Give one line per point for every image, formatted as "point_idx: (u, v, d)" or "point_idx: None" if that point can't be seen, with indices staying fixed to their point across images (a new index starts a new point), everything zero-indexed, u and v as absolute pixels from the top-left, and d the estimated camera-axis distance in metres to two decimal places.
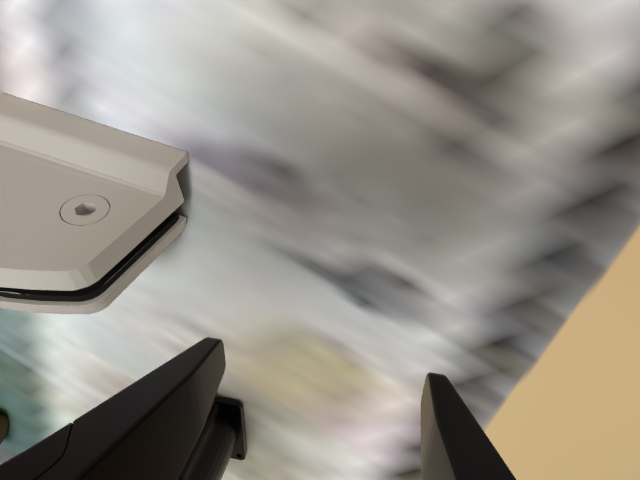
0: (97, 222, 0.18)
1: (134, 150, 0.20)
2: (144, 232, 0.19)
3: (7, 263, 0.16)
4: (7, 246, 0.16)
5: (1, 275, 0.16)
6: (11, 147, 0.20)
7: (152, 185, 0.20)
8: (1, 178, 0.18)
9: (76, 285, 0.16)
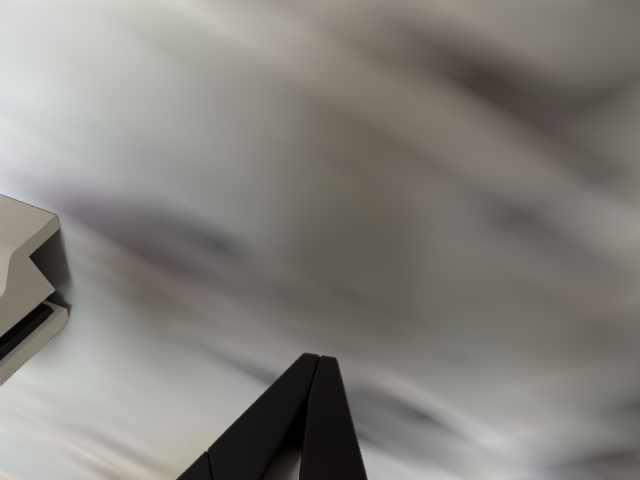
0: None
1: None
2: None
3: None
4: None
5: None
6: None
7: None
8: None
9: None
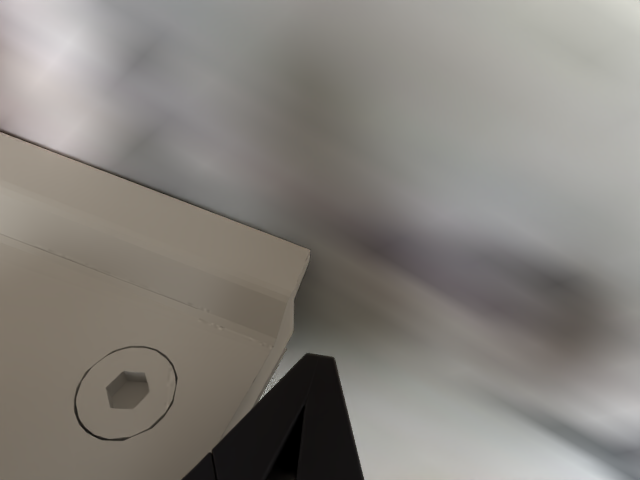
0: (154, 424, 0.08)
1: (217, 248, 0.10)
2: None
3: None
4: None
5: None
6: None
7: (252, 321, 0.10)
8: None
9: None
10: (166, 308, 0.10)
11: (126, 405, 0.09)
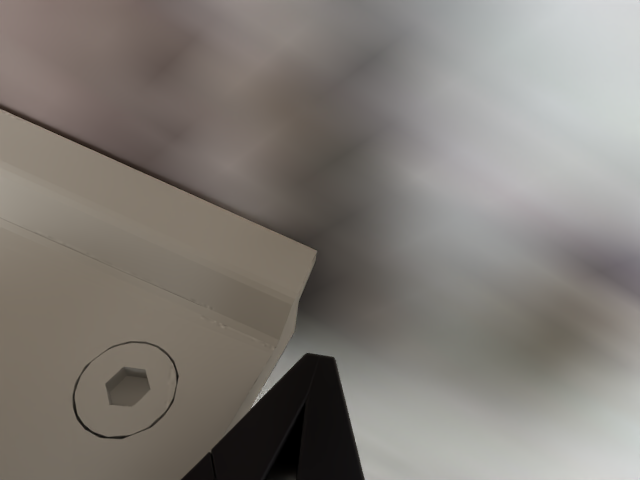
0: (154, 423, 0.08)
1: (223, 245, 0.10)
2: None
3: None
4: None
5: None
6: None
7: (256, 321, 0.10)
8: None
9: None
10: (168, 303, 0.10)
11: (125, 401, 0.09)
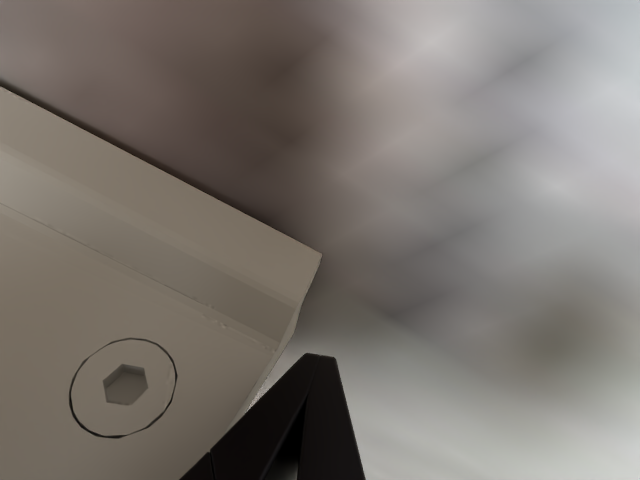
0: (151, 423, 0.08)
1: (228, 243, 0.10)
2: None
3: None
4: None
5: None
6: None
7: (258, 323, 0.10)
8: None
9: None
10: (169, 300, 0.10)
11: (121, 398, 0.09)
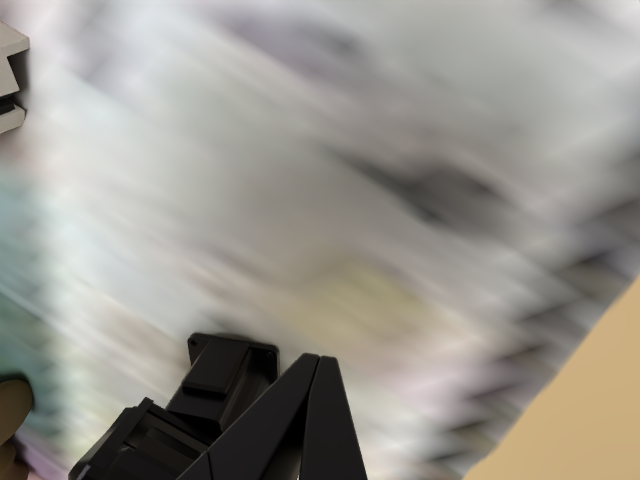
0: None
1: None
2: None
3: None
4: None
5: None
6: None
7: None
8: None
9: None
10: None
11: None
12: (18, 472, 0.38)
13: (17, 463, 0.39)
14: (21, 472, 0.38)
